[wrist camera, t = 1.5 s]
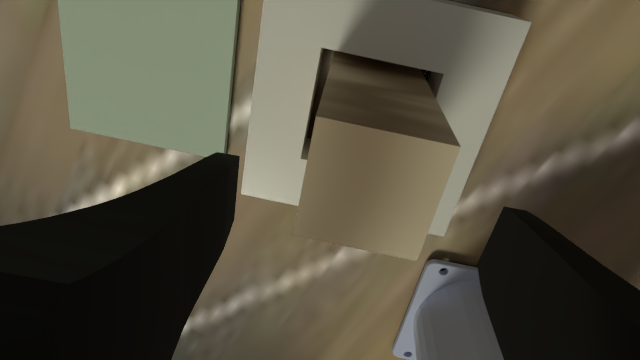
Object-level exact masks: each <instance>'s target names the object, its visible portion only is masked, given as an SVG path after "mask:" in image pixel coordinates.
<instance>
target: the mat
mask: <svg viewBox="0 0 640 360" xmlns="http://www.w3.org/2000/svg"><path fill="white" fill-rule="evenodd" d="M58 8H59V18H60V28H61V38H62V48H63V58H64V68H65V78H66V88H67V98H68V108H69V118H70V127H71V128H72V129H76V130H81V131H86V132H91V133H95V134H100V135H105V136H109V137H114V138H119V139H124V140H128V141H133V142H138V143H143V144H147V145H152V146H157V147H162V148H166V149H171V150H176V151H180V152H185V153H190V154H195V155H199V156H204V157H207V156H209V155H211V154H214V153H216V152H220V153H225V154H226V151H227V140H228V130H229V119H230V108H231V97H232V86H233V76H234V65H235V54H236V43H237V33H238V22H239V11H240V0H58Z"/></svg>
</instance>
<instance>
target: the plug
mask: <svg viewBox="0 0 640 360" xmlns="http://www.w3.org/2000/svg"><path fill="white" fill-rule="evenodd" d="M460 148H461V146H460V144H459V142H458V140H457V138H456V137H455V135H454V133H453V131H452V129H451V127H450V125H449V123H448V121H447V119H446V117H445V115H444V113H443V111H442V110H441V108H440V106H439V104H438V102H437V100H436V98H435V96H434V94H433V92H432V90H431V88H430V86H429V84H428V83H427V81H426V79H425V77H424V75H423V73H422V71H421V69H418V68H414V67H409V66H405V65H400V64H395V63H391V62H386V61H381V60H377V59H372V58H367V57H363V56H358V55H353V54H349V53H344V52H340V51H334V55H333V58H332V62H331V65H330V69H329V72H328V76H327V79H326V83H325V86H324V90H323V93H322V97H321V100H320V104H319V107H318V111H317V114H316V118H315V123H314V128H313V133H312V138H311V144H310V149H309V154H308V159H307V164H306V169H305V174H304V179H303V184H302V189H301V194H300V199H299V205H298V210H297V215H296V220H295V225H294V230H293V235H295V236H300V237H304V238H309V239H314V240H319V241H324V242H328V243H333V244H338V245H343V246H347V247H352V248H357V249H362V250H367V251H371V252H376V253H381V254H386V255H390V256H395V257H400V258H405V259H410V260H414V261H417V260H418V257H419V254H420V252H421V249H422V247H423V244H424V242H425V239H426V236H427V234H428V231H429V229H430V226H431V223H432V221H433V218H434V216H435V213H436V210H437V208H438V205H439V203H440V200H441V197H442V195H443V192H444V190H445V187H446V184H447V182H448V179H449V177H450V174H451V172H452V169H453V166H454V164H455V161H456V159H457V156H458V153H459V151H460Z"/></svg>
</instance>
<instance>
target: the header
mask: <svg viewBox="0 0 640 360" xmlns="http://www.w3.org/2000/svg"><path fill="white" fill-rule="evenodd" d="M531 23H532V22H530V21H527V20H525V19H522V18H519V17H517V16H514V15H512V14H508V13H504V12H499V11H494V10H490V9H485V8H481V7H476V6H471V5H467V4H462V3H458V2H453V1H448V0H264V2H263V11H262V20H261V28H260V37H259V45H258V54H257V62H256V71H255V79H254V88H253V96H252V105H251V113H250V122H249V130H248V139H247V147H246V156H245V164H244V173H243V181H242V190H241V194H244V195H249V196H253V197H258V198H263V199H268V200H272V201H277V202H282V203H287V204H291V205H296V206H298V205H299V199H300V194H301V189H302V184H303V179H304V174H305V169H306V164H307V159H308V154H309V149H310V144H311V139H310V138H307V135H308V129H309V124H310V119H311V114H312V108H313V103H314V98H315V93H316V87H317V82H318V77H319V72H320V66H321V61H322V56H323V51H324V48H326V49H330V50H335V51H340V52H344V53H349V54H353V55H358V56H363V57H367V58H372V59H377V60H381V61H386V62H391V63H395V64H400V65H405V66H409V67H414V68H418V69H423V70H428V71H431V73H430V76H429V79H428V84H429V86H430V88H431V90H432V92H433V94H434V96H435V98H436V100H437V102H438V104H439V106H440V108H441V110H442V111H443V113H444V115H445V117H446V119H447V121H448V123H449V125H450V127H451V129H452V131H453V133H454V135H455V137H456V138H457V140H458V142H459V144H460V146H461V148H460V151H459V153H458V156H457V159H456V161H455V164H454V166H453V169H452V172H451V174H450V177H449V179H448V182H447V184H446V187H445V190H444V192H443V195H442V197H441V200H440V203H439V205H438V208H437V210H436V213H435V216H434V218H433V221H432V223H431V226H430V229H429V231H428V233H429V234H434V235H439V236H443V237H444V235H445V232H446V230H447V227H448V225H449V222H450V220H451V218H452V215H453V213H454V210H455V208H456V205H457V203H458V201H459V198H460V196H461V193H462V191H463V188H464V186H465V183H466V181H467V179H468V176H469V174H470V171H471V169H472V166H473V164H474V162H475V159H476V157H477V154H478V152H479V149H480V147H481V144H482V142H483V140H484V137H485V135H486V132H487V130H488V127H489V125H490V123H491V120H492V118H493V115H494V113H495V110H496V108H497V105H498V103H499V101H500V98H501V96H502V93H503V91H504V88H505V86H506V84H507V81H508V79H509V76H510V74H511V71H512V69H513V66H514V64H515V62H516V59H517V57H518V54H519V52H520V49H521V47H522V45H523V42H524V40H525V37H526V35H527V32H528V30H529V27H530V25H531Z"/></svg>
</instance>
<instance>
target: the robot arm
mask: <svg viewBox="0 0 640 360" xmlns="http://www.w3.org/2000/svg"><path fill="white" fill-rule="evenodd" d="M239 157H240V156H235V155H230V154H225V153H220V152H216V153H214V154H211V155H209V156H207V157H205V158H204V159H202V160H200V161H198V162H196V163H194V164H192V165H190V166H188V167H186V168H184V169H182V170H181V171H179V172H177V173H175V174H173V175H171V176H169V177H167V178H164V179H162V180H160V181H158V182H155V183H153V184H151V185H149V186H146V187H144V188H142V189H140V190H137V191H135V192H132V193H130V194H127V195H124V196H122V197H119V198H116V199H113V200H110V201H107V202H104V203H101V204H97V205H94V206H91V207H87V208H83V209H79V210H75V211H71V212H67V213H63V214H59V215H55V216H52V217H47V218H42V219H37V220H32V221H27V222H22V223H16V224H10V225H4V226H0V360H171V359H172V356H173V354H174V351H175V348H176V346H177V343H178V341H179V338H180V336H181V333H182V331H183V328H184V326H185V324H186V322H187V320H188V317H189V315H190V313H191V311H192V309H193V307H194V305H195V304H196V302H197V300H198V298H199V296H200V294H201V292H202V290H203V288H204V286H205V284H206V282H207V280H208V279H209V277H210V275H211V273H212V271H213V269H214V267H215V265H216V263H217V261H218V259H219V257H220V255H221V253H222V251H223V249H224V247H225V244H226V241H227V238H228V236H229V233H230V230H231V227H232V224H233V221H234V215H235V203H236V192H237V180H238V169H239ZM442 268H446V270H444V271H440V269H442ZM392 353H393V355H394V356H396V357H399V358H404V359H409V360H640V290H639V289H637V288H636V287H634V286H633V285H631V284H630V283H628V282H627V281H625V280H624V279H622V278H621V277H619V276H618V275H616V274H615V273H613V272H612V271H611V270H609V269H608V268H606V267H605V266H604V265H602V264H601V263H599V262H598V261H597V260H595V259H594V258H592V257H591V256H590V255H588V254H587V253H586V252H584V251H583V250H582V249H580V248H579V247H578V246H576V245H575V244H574V243H572V242H571V241H570V240H568V239H567V238H566V237H564V236H563V235H561V234H560V233H559V232H557V231H556V230H555V229H553V228H552V227H551V226H549V225H548V224H546V223H545V222H544V221H542V220H541V219H539V218H538V217H536V216H534V215H533V214H531V213H529V212H528V211H525V210H519V209H514V208H509V207H504V208H503V210H502V212H501V214H500V216H499V218H498V221H497V223H496V225H495V227H494V229H493V231H492V234H491V236H490V238H489V240H488V242H487V244H486V247H485V249H484V251H483V253H482V255H481V257H480V260H479V262H478V264H477V268H476V267H472V266H467V265H462V264H457V263H452V262H448V261H443V260H438V259H432V260H429V261H428V262H427V263H426V264H425V267H424V269H423V272H422V274H421V277H420V279H419V282H418V284H417V287H416V289H415V292H414V294H413V297H412V299H411V302H410V304H409V307H408V309H407V312H406V314H405V317H404V319H403V322H402V324H401V327H400V329H399V332H398V334H397V337H396V339H395V342H394V344H393V347H392Z"/></svg>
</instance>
